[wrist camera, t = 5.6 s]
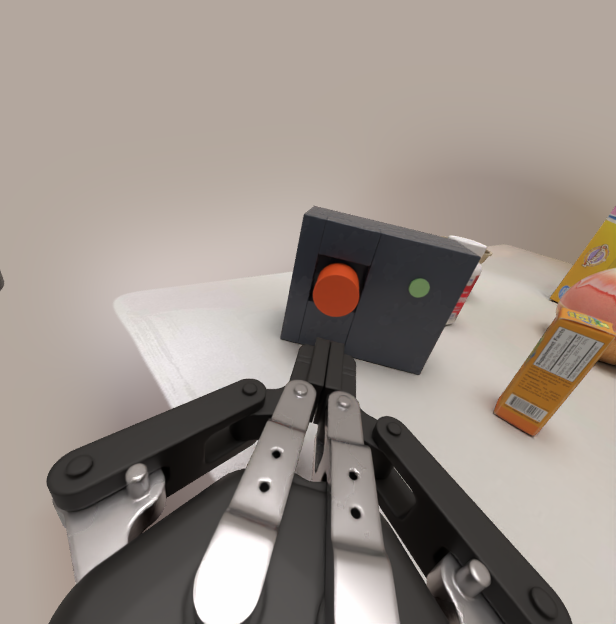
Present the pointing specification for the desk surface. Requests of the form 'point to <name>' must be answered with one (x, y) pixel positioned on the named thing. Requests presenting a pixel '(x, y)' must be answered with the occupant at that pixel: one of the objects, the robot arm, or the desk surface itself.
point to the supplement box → (554, 369)
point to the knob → (336, 290)
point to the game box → (592, 257)
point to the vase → (595, 303)
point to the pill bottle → (478, 250)
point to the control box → (378, 287)
